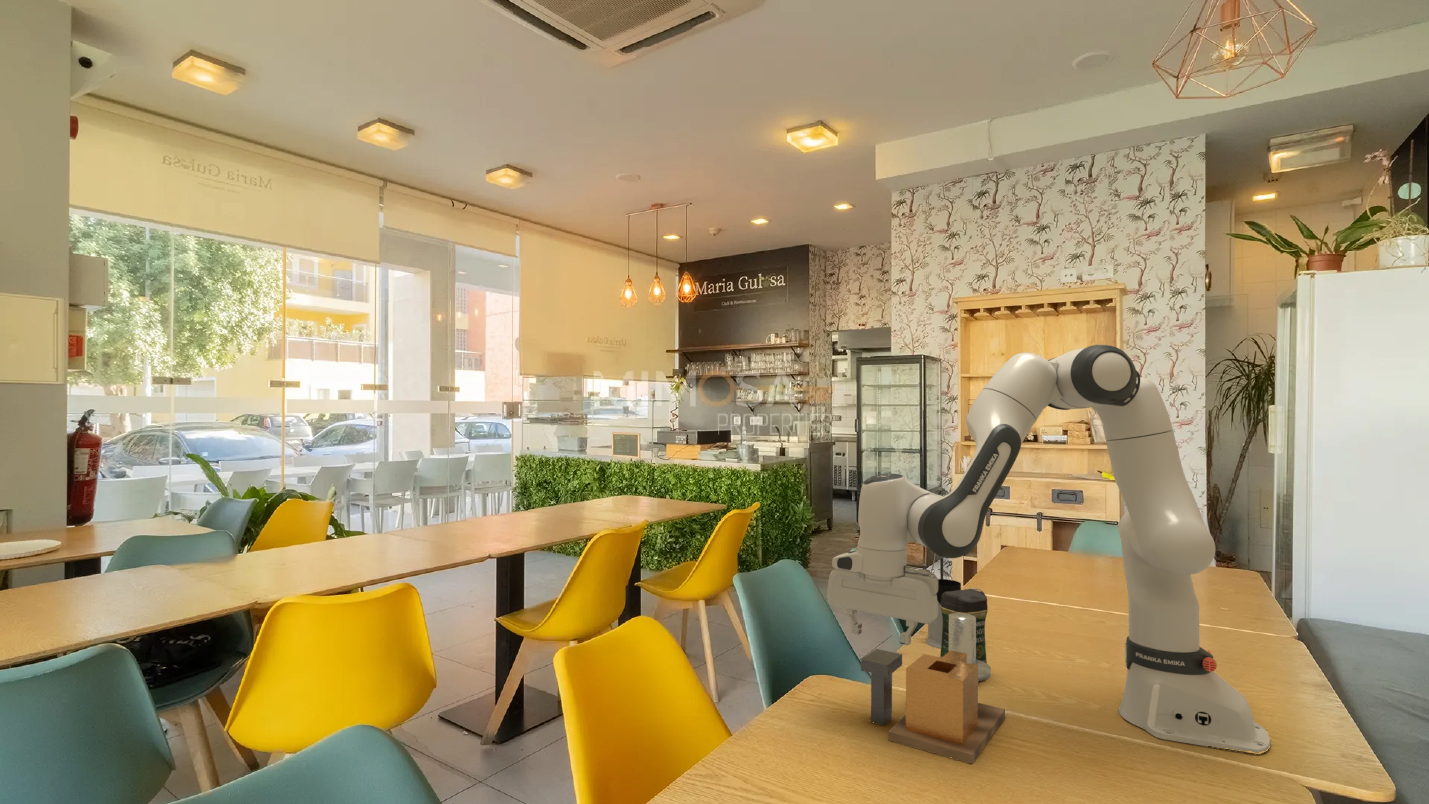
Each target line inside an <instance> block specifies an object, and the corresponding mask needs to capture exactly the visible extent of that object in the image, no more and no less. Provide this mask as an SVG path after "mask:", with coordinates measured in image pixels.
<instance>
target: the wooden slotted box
mask: <svg viewBox="0 0 1429 804" xmlns="http://www.w3.org/2000/svg"><path fill="white" fill-rule="evenodd" d="M991 675H992V669H991V666H990V665H989V664H988V662H987V663H985V662H983V661H980V660H977V659H976V617H975V616H973V615H970V614H965V613H952V614H949V652H948V653H947V654H946V655H944V656H943V657H940V656H934V655H930V654H926V653H925V654H924V653H923V654H922V655H920V657H918V658H917V659H916V660H914V661H913V662H912V663H910V665H908V666H907V667H906V668H905V715H906V730H908V731H912V732H915V733H919V734H923V735H926V736H930V737H934V738H937V739H941V740H945V741H948V742H952V743H956V744H959V745H964V743H965V742H966V741H967V739H968V738H969V737H970V735H971V734H972V733H973V731H974V730H975V729H976V728H977V726H978V703H979V682H980V681H982V682H983V681H985V680H988V679H990V677H991Z"/></svg>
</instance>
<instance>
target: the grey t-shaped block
mask: <svg viewBox="0 0 1429 804" xmlns="http://www.w3.org/2000/svg"><path fill="white" fill-rule="evenodd" d="M902 666H903V654H902V653H899V652H898V653H897V652H893V651H888V650H883V649H878V648H875V649H874V650H872V651H871V652H870V653H868V654H867V655H865V656H864V657H862V658H861V659H860V671H862V672H865V673H870V682H871V684H870V723H871V722H874V723H873V724H875V723H877V724H876V725H878V724H880V725H879V726H882V725H884V726H885V725H886V724H887V723H888V722H890V721H891V720H892V719H893V673H894V672H895V671H897V670H898V669H899V668H901V667H902ZM890 719H891V720H890Z"/></svg>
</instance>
